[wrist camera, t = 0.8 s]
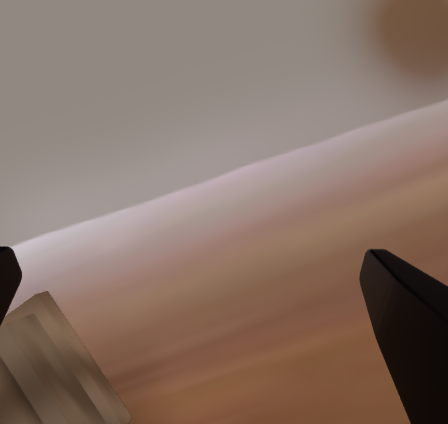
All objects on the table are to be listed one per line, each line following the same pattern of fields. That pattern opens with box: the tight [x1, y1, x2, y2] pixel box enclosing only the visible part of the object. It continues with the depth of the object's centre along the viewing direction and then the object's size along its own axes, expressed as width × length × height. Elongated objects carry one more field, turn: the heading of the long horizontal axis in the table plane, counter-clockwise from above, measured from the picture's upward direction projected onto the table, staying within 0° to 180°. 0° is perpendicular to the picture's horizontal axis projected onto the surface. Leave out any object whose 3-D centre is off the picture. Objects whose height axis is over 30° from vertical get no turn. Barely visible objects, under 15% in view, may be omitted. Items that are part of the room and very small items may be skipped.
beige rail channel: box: [0, 291, 132, 424], centre depth 22 cm, size 11×9×4 cm
